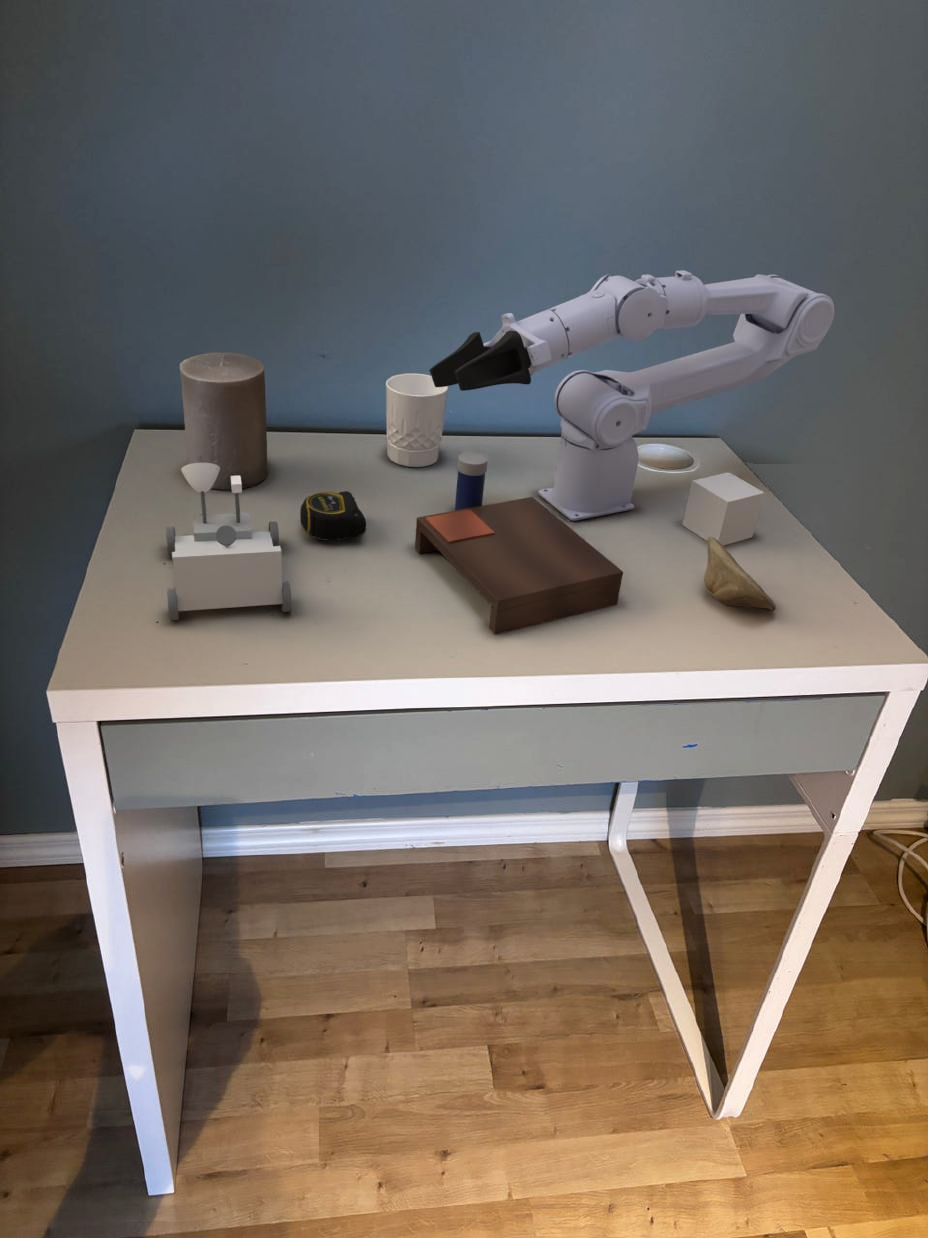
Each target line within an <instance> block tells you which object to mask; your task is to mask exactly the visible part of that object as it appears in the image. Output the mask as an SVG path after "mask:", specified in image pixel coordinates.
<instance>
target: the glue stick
mask: <svg viewBox="0 0 928 1238" xmlns="http://www.w3.org/2000/svg"><path fill="white" fill-rule="evenodd" d="M456 469H457V479H456V489H455V503H454V511H456V510H462V509H467V508H473V507H478V506H483V501H484V491H485V482H486V481H485V480H486V472H487V469H488V457H487V456H486V454H483V453H480V452H475V451H466V452H461V453H460V454H459V455H458V457H457V468H456Z"/></svg>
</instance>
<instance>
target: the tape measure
mask: <svg viewBox="0 0 928 1238" xmlns="http://www.w3.org/2000/svg"><path fill="white" fill-rule="evenodd" d="M299 513H300V514H299V516H300V517H299V519H300V524H301V526H302V528H303V530H304V531H305V532H306V533H307V534H309V535H310V536H311V537H313V538H316V539H319V540H323V541H331V542H333V541H336V542H337V541H340V540H345V539H349V538H354V537H359V536H362V535H364V534H365V532H366V530H367V520H366V517H365V516H364V514H363V512H362V511H361V510H360V508H359V506H358V504H357V502H356V499H355V497H354V495H353V494H352V493H351V492H350V491H348V490H345V491H339V492H333V491H320V492H316V493H313V494H310V495H308V496H307V497H306V498H304V499H303V502H302V503H301V506H300V511H299Z"/></svg>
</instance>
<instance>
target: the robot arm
mask: <svg viewBox="0 0 928 1238" xmlns="http://www.w3.org/2000/svg"><path fill="white" fill-rule="evenodd" d="M722 315H739V318H738V321H737V323H736V325H735V329H734V332H733V334H732V337H733V342H730V343H727V344H724V345H719V346H717V347H713V348H709V349H706V350H703V351H699V352H696V353H692V354H689V355H685V356H683V357H679V358H675V359H672V360H669V361H665V362H663V363H658V364H655V365H652V366H648V367H645V368H642V369H639V370H635V371H632V372H630V371H629V372H628V371H627V372H626V371H620V370H612V369H603V370H601V371H590V370H586V369H578V370H574V371H572V372H570V373H568V374H566V376H565V377H564V378H563V379H562V380H561V381H560V382H559V384H558V386H557V387H556V390H555V393H554V397H553V398H554V399H553V404H554V409H555V411H556V413H557V414H558V416H559V417H561V418H560V424H559V426H560V428H561V434H560V441H559V448H558V453H557V462H556V468H555V474H554V481H553V487H548V488H542V489H539V490H538V493H537V494H538V495H539V496H540V497H542V498H543V499H544V500H545V501H546V502H547V503H549V504H550V505H551V506H552V507H553V508H555V509H556V510H557V511H559V512H560V513H561V514H562V515H563V516H565V518H567V519H568V520H570V521H571V522H572V521H573V522H575V521H580V520H585V519H591V518H595V517H601V516H606V515H610V514H612V515H613V514H616V513H621V512H626V511H632V510H634V508H635V505H634V504H633V503H632V502H631V501H632V496H633V490H634V485H635V481H636V476H637V470H638V466H639V465H638V464H639V450H638V446H637V443H636V441H635V439H634V437H633V436H634V435H636V434H639V433H640V432H644V431H646V430H647V429H648V426H649V423H650V420H651V416H652V415H653V414H657V413H660V412H663V411H666V410H669V409H672V408H673V409H674V408H676V407H679V406H683V405H685V404H689V403H693V402H695V401H699V400H701V399H705V398H707V397H712V396H715V395H718V394H721V393H723V392H727V391H731V390H734V389H736V388H737V389H738V388H740V387H743V386H747V385H750V384H753V383H756V382H759V381H762V380H764V379H766V378H767V377H769V376H770V375H771V374H772V373H774V372H775V371H776V370H778V369H779V368H780V367H782V366H783V365H785V364H786V363H787V362H789V361H790V360H791V359H793V358H794V357H797V356H800V355H804V354H806V353H809V352H813V351H815V350H817V349H818V347H819V345H820V344H821V342H822V341H823V340H824V338H825V336H826V335H827V333H828V331H829V330H830V328H831V326H832V324H833V320H834V318H835V304H834V301H833V299H832V298H831V297H830V295H829V296H828V295H827V294H824V293H823V292H822V293H818V292H816V291H813V290H811V289H809V288H806V287H803V286H802V285H801V286H800V285H798V284H796V283H794V282H792V281H789V280H786V279H784V277H782V276H780V275H777V274H768V275H767V274H761V273H760V274H759V273H757V274H756V275H755V276H754V277H747V278H740V279H733V280H727V281H720V282H713V283H706V284H704V282H703V281H702V280H701V279H699V277H697V276H695V275H693V273H692V272H690V271H687V270H685V269H683V270H681V269H680V270H675V273H674V276H664V277H663V276H662V277H655V276H654V275H651V274H650V273H649V274H642V275H641V276H640V278H638V279H636V280H632V279H630V278H627V277H626V276H623V275H612V276H611V275H609V274H608V273H607V274H605V275H603V276H602V277H601V278H599V279H598V280H597V281H596V282H595V283H594V284H593V286H592V288H591V289H590V290H589V291H588V292H587V293H585V294H581V295H579V296H578V297H575V298H573V299H570V300H568V301H565V302H562V303H560V304H557V305H555V306H552V307H550V308H548V309H545V310H543V311H540V312H537V313H535V314H532V315H530V316H528V317H525V318H523V319H519V320H517V321H516V318H515V315H514V314H513V313H512V312H506V313H503V314H502V315H501V318H500V320H501V323H502V326H501V328H500V329H499V330H498V331H497V333H496V334H495V335H494V336H493V337H492V339H491V340H489V341H486V342H484V341H483V338H482V335H481V332H480V331H474V332H472V333H470V335H468V337H467V338H466V339H465V341H464V342H463V343H462V344H461V345H460V346H459V347H458V348H457V349H456V350H455V351H454V352H452V353H450V354H449V355H448V356H446V357H445V358H443V359H442V360H440V361H439V362H437V363H435V364H434V365H433V366H432V367H431V368H430V369H429V373H430V376H432V379H433V382H434V385H435V387H446V386H448V387H452V386H455V385H458V388H459V391H463V392H464V391H465V392H466V391H472V390H477V389H482V388H488V387H492V386H498V385H509V384H510V385H511V384H517V385H518V384H521V385H530V384H531V382H532V377H531V376H533V374H535V373H537V372H540V371H541V370H544V369H547V368H549V367H551V366H554V365H556V364H558V363H561V362H564V361H565V360H568V359H570V358H573V357H576V356H577V355H580V354H583V353H586V352H587V351H590V350H592V349H594V348H597V347H599V346H603V345H604V344H607V343H609V342H611V341H614V340H616V339H619V336H620V337H622V338H623V339H627V340H629V341H636V342H641V341H644V340H645V339H647V338H648V337H649V336H651V335H652V333H653V332H655V331H656V332H657V331H666V330H675V329H676V330H677V329H683V328H684V329H685V328H692V327H695V326H697V325H698V324H700V322H701V321H702V320H703V319H704V317H705V316H722Z"/></svg>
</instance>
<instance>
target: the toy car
mask: <svg viewBox="0 0 928 1238" xmlns="http://www.w3.org/2000/svg"><path fill="white" fill-rule="evenodd" d="M219 470H220V467H219V466H218V465H215V464H212V463H202V456H198V463H192V464H188V463H187V464H186V465H183V466H182V467H181V468H180V471H181V473H182V475H183V477H184V479H185V480H186V481H187V483H188V484H189V486H190V487H191V488H192V489H193V490H194V491H195V492H197V493H198V494H200V504H201V505H200V506H201V514H195V515H192V525H193V535H190V534H189V535H176V528H175V526H167V527H166V528H165V535H166V536H165V538H166V547H167V555H168V556H171V558H172V568H173V578H174V579H173V580H174V588H167V590H166V591H167V592H166V595H167V597H166V598H167V609H168V610H167V611H168V619H169V620H170V621H178V620H179V619H180V612H183V611H184V612H185V611H198V610H199V611H201V610H214V609H228V608H242V607H243V608H244V607H256V606H258V607H259V606H271V605H272V606H273V605H280V606H281V611H282V613H288V612H289V613H290V612H292V608H293V604H292V603H293V602H292V601H293V600H292V589H291V584H290V583H291V582H290V581H288V580H285V581H283V565H282V563H283V562H282V548H281V545H280V535H279V534H280V533H279V525H278V522H277V521H269V522H268V531H253V528H252V522H251V516H250V514H251V513H250V512H241V511H240V510H241V509H240V494H242V493H243V488H242V483H241V477H240V476H237V475H234V476H231V488H232V489H231V493H232V494H234V503H235V504H234V505H235V513H216V514H215V513H214V514H207V508H206V495H205V494H206V493H207V492H209V491H210V490H211V489H212V488H211V487H212V486H213V484H214V482H215V480H216V478H217V476H218V473H219Z"/></svg>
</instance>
